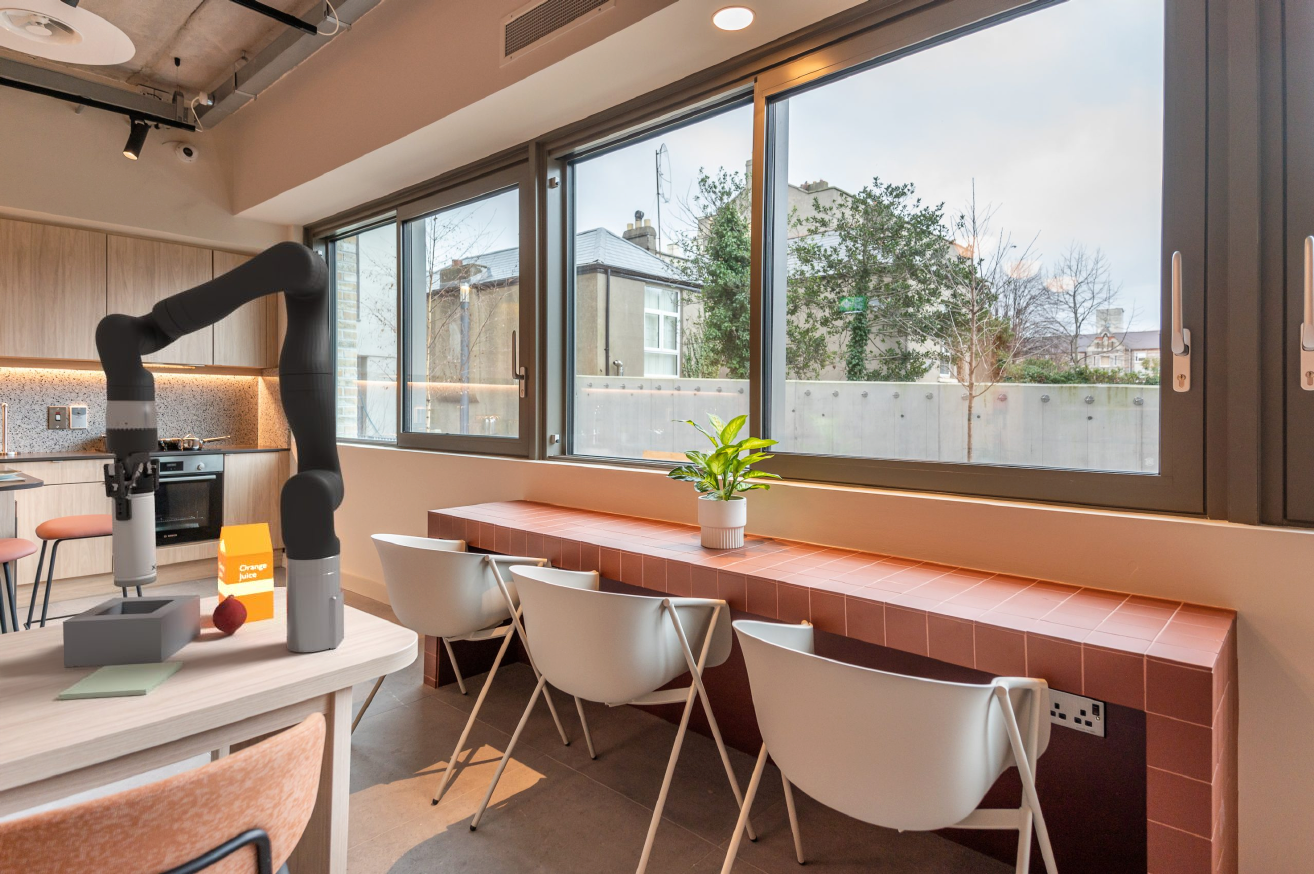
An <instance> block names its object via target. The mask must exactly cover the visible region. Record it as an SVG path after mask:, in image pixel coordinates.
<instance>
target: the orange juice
mask: <svg viewBox="0 0 1314 874" xmlns="http://www.w3.org/2000/svg"><path fill="white" fill-rule="evenodd" d="M217 567H218V569H217V571H218V572H217V574H218V576H217V583H218V584H217V587H218V589H217V590H218V605H219V604H220V603H221V602H222V601H224V600H225V599H226V597H227V596H228V595H229V594H233V595H234V599H236V600H238V601H240V602H241V603H242V604H243V605H244V606H245V608H246V610H247V619H246V621H245V623H244V624H249V623H254V622H259V621H264V620H269V619H268V618H271V619H274V618H275V616H274V615H275V614H274V613H275V612H274V603H275V602H274V591H275V590H274V580H275V579H274V551H273V545H272V539H271V535H270V529H269V523H268V522H264V523H250V524H242V525H241V524H240V525H230V526H229V525H227V526H221V531H220V536H219V543H218V550H217Z"/></svg>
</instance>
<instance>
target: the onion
mask: <svg viewBox="0 0 1314 874" xmlns="http://www.w3.org/2000/svg"><path fill="white" fill-rule="evenodd" d="M246 619H247V610H246V608H245V606H244V605H243V604H242V603H241V602H240V601H238V600H236V599H234V595H233V594H229V595H228V596H227V597H226V599H225V600H224V601H222V602H221V603H220V604H219V603H218V605H217V606H216V607H215V609H214V611H213V613H212V624H213V625H214V627H215V628H216V629H217V630H219V631H221V632H223V633H224V634H226V635H232V634H234V633H236V632H237V630H239V629H240V628H241V627H242V626H243V625H244V624H246V623H245V621H246Z"/></svg>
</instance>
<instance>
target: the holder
mask: <svg viewBox="0 0 1314 874" xmlns="http://www.w3.org/2000/svg"><path fill="white" fill-rule="evenodd" d="M62 631H63V668H64V667H66V668H75V667H74V666H79V667H78V668H81V667H80V666H85V667H104V666H111V665H130V664H149V663H164V662H165V661H166V660H167V659H169V658H171V656H173V655H175V654H176V653H177V652H178V651H180V650H182V649H183V648H184V647H185V646H187V645H189V644H190V643H191V642H193V641H194V640H195V639H197V638H198V637H200V636H201V594H189V595H188V594H186V595H182V594H181V595H159V596H156V595H153V596H131V597H129V596H128V597H127V596H126V597H125V596H124V597H113V598H111V599H109V600H107V601H104V602H102V603H100V604H98V605H95V606H94V607H91V608H89V609H87V610H85V611H83V612H81V613H80V612H79V613H78V614H76V615H74V616H72V617H70V618H68V619H66V620H64V621H62Z"/></svg>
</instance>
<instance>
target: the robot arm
mask: <svg viewBox="0 0 1314 874" xmlns="http://www.w3.org/2000/svg"><path fill="white" fill-rule="evenodd" d="M329 287H330V272H329V268H328V265H327V263H326V261H325V260H324V258H323V257H322V256H321V255H320V254H319V253H318V252H316V251H315V250H312V249H311V248H309V247H307V246H306V245H304V244H302V243H300V242H297V241H292V240H291V241H290V240H286V241H281V242H278V243H275V244H274V245H272V246H270V247H268V248H266V249H265V250H263V251H262V252H260V253H258V254H257V255H255V256H254V257H252V258H250V259H249V260H248V261H245V262H244V263H242V264H240V265H239V266H238V265H237V267H235V268H233V269H230V270H229V271H227V272H226V273H223V274H222V275H219V276H217V277H215V278H213V279H211V280H208V281H206V282H203V283H201V284H198V285H196V286H194V287H191V288H189V289H187V290H183V291H180V292H179V293H176V294H173V295H171V296H168V297H166V298H164V299H161V300H159V301H157V302H156V303H155V304H154V305H153V306H152V309H151V310H152V311H150V312H149V313H146V314H144V315H140V316H133V315H129V314H124V313H111V314H108V315H106V316H103V318H102V319H100V321H99V322H98V324H97V326H96V329H95V337H94V338H95V339H94V340H95V341H94V342H95V346H96V350H97V353H98V356H99V360H100V363H101V367H102V369H103V372H104V375H105V378H106V382H105V383H106V389H105V390H106V407H105V416H104V417H105V446H106V452H107V453H110V454H115V459H114V463H104V464H103V467H102V468H103V476H104V477H103V479H104V487H105V495H106V497H107V498H111V499H112V498H113V500H115V509H116V520H118V521H127V520H130V519H131V518H132V505H131V496H132V492H133V488H134V487H136V486H137V481H136V480H137V479H143V478H145V477H146V478H147V477H149V473H155V477H153V480H154V486H153V488H154V491H155V490H159V488H160V467H161V466H160V463H161V462H160V461H161V460H160V458H153V457H152V458H151V456H150V453H152V452H153V453H154V452H157V451H158V449H159V441H158V440H159V438H158V431H159V430H158V412H157V411H158V410H157V407H156V389H155V388H156V387H155V384H156V383H155V377H154V375H153V373H152V372H151V371H150V370H149V369H147V368H145V367H144V365H143V361H142V360H143V359H142V356H147V355H151V354H154V353H156V352H159V351H161V350H163V349H165V348H167V347H168V346H169V345H171V344H173V343H175V342H176V341H177V340H179V339H180V338H182V337H184V336H187V335H189V334H190V335H191V334H192V333H195V332H197V331H200V330H202V329H204V328H207V327H210V326H212V325H214V324H216V323H218V322H220V321H222V320H223V319H225V318H227V317H228V316H230V314H232V313H234V312H235V311H236V310H237V309H239V308H241V307H242V306H244V305H246V304H247V303H249V302H252V301H253V300H256V299H259V298H262V297H264V296H265V297H266V296H269V295H273V294H278V293H282V292H283V296H284V303H285V309H286V331H285V335H284V340H283V343H282V347H281V350H280V355H279V360H278V382H279V385H278V386H279V394H280V401H281V406H282V410H283V412H284V416H285V418H286V421H287V423H288V425H289V427H290V428H289V429H290V430H291V433H292V435H293V439H294V442H295V447H296V459H297V460H296V461H297V465H296V467H297V469H296V470H297V473H296V474H293V475H292V476H291V477H290V478H288V479H287V480H286V481H285V483H284V485H283V486H282V489H281V493H280V498H279V506H280V507H279V510H280V512H279V513H280V514H279V515H280V529H281V541H282V544H283V546H284V548H285V556H286V557H285V577H286V578H285V583H286V585H285V586H286V590H285V592H286V594H285V595H286V597H285V598H286V606H285V607H286V648H287V650H288V651H290V652H293V653H312V652H313V653H314V652H319V651H325V650H329V648H330V649H336V648H337V647H338V646H339V645H340V644H341V643H342V641H343V640H344V638H345V606H344V605H345V601H344V599H345V596H344V595H345V594H344V592H345V591H344V590H343V589H341V587H342V586H341V585H342V583H341V540H340V538H339V537H338V536H337V534H336V531H335V512H336V510H337V509H338V508H340V506H341V504H342V502H343V500H344V499H345V484H344V479H343V474H342V470H341V469H342V468H341V463H340V458H339V453H338V444H337V420H336V419H337V416H336V401H335V399H336V398H335V397H336V396H335V393H336V392H335V380H334V371H333V370H334V369H333V362H332V361H333V360H332V348H331V346H332V345H331V339H330V337H331V336H330V331H329V319H328V318H329V317H328V315H329V294H330V293H329V291H330V288H329ZM130 480H131V481H130ZM124 481H129V482H124ZM112 485H113V486H114V490H113V488H112ZM125 487H127V488H126V492H125ZM342 639H343V640H342ZM339 643H340V644H339Z"/></svg>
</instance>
